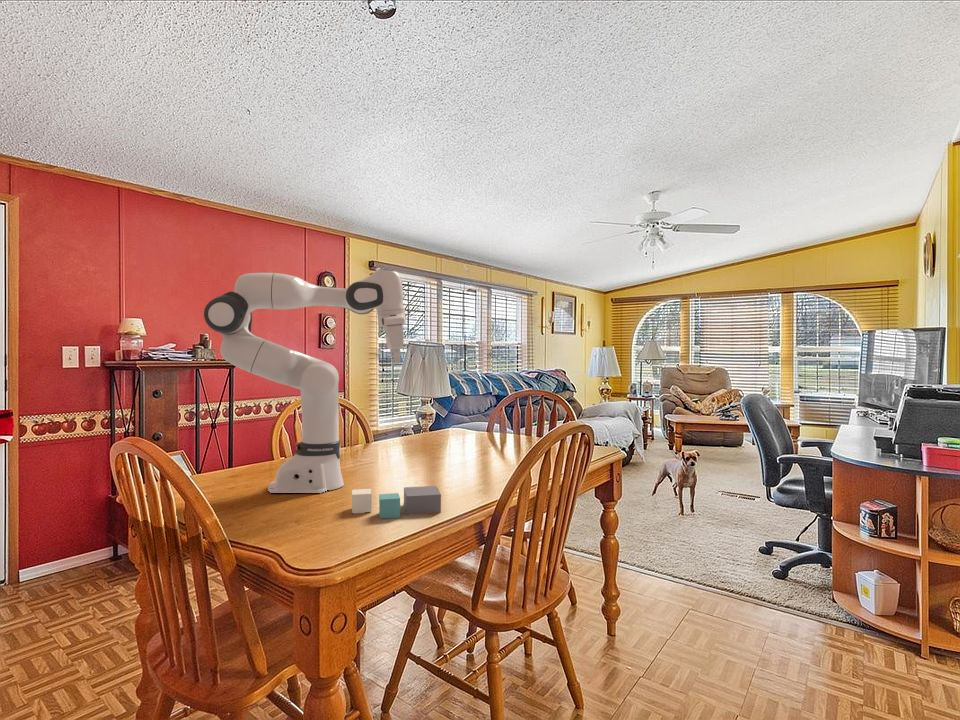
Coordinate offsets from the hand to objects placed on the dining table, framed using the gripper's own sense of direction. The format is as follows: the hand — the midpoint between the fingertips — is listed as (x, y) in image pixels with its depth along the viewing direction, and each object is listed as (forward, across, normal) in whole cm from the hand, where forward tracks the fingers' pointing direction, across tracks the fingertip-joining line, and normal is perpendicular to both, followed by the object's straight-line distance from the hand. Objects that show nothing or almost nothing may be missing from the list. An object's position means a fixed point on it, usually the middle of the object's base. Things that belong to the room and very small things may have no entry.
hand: (396, 362), depth 172 cm
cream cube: (+37, +28, -16) cm, 49 cm away
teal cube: (+38, +34, -8) cm, 51 cm away
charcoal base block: (+39, +30, 0) cm, 49 cm away
